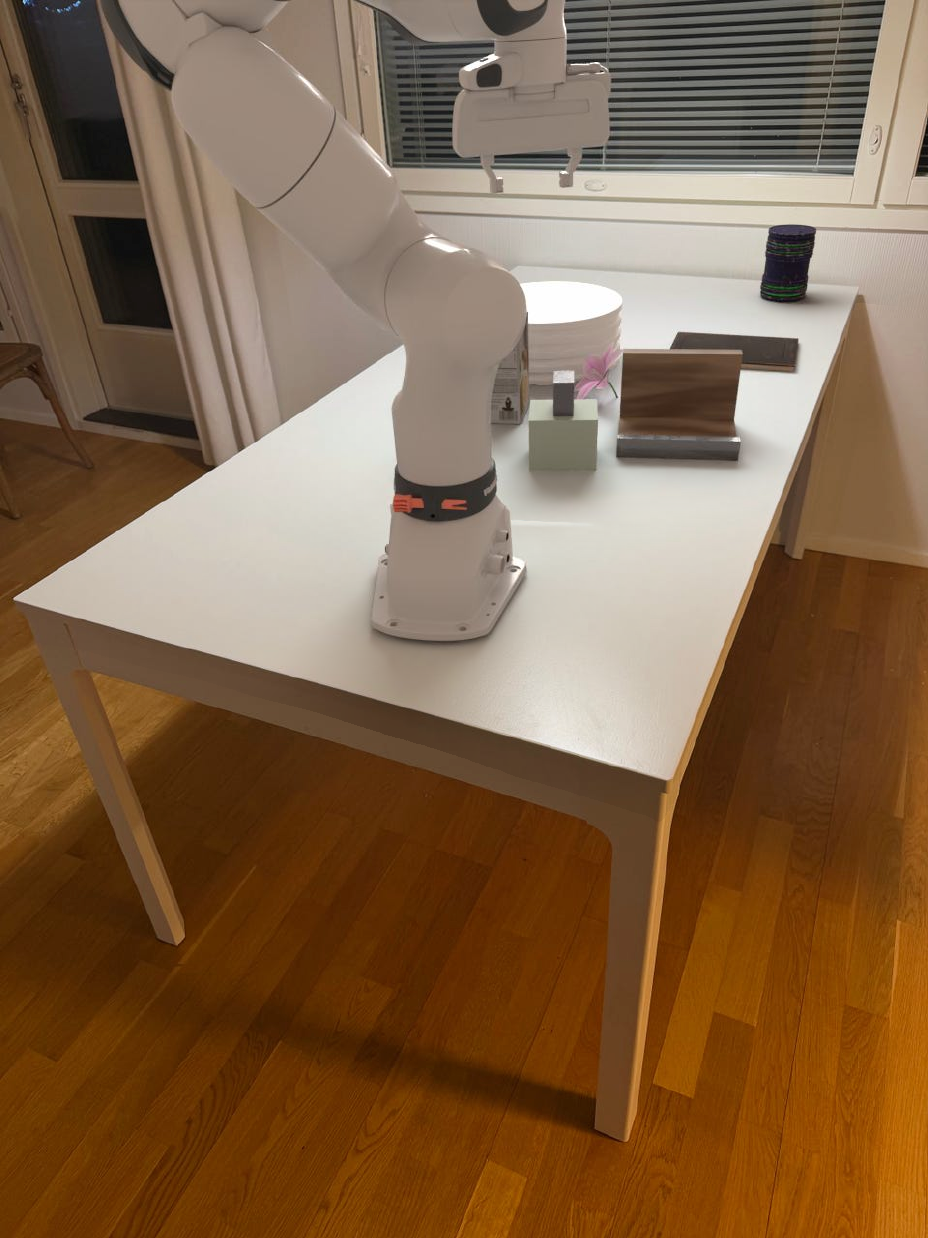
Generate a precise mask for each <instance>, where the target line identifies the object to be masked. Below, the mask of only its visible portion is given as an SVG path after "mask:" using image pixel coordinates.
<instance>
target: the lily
mask: <svg viewBox="0 0 928 1238" xmlns="http://www.w3.org/2000/svg"><path fill="white" fill-rule="evenodd" d="M613 345H614V341H613V342H612V343H611V344H610V345H609V346H608V347H607V349H606V350H605V351H604V353H603V354H602V356H601V357H600V356H598V355H595V354H589V355H587V356H586V357H585V359H584V362H583V373H584V375H585V377H584V378H583V379H581V381H578V383H577V384H576V385H575V386H574V393H575V392H577V391H578V393H577V395H576V399H585V397H586V395H587V394H589V392H590V391H591V390H592V389H593V388H594V389H598V390H606V389H607V386H608V385H609V386H610V388H611V389H612V392H613V394H614V396H615V397H616V398H617V399H618V398H619V397H618V394H617V392H616V390H615V388H614V386H613V385H612V384H611V382H610V381H609V371H608V370H609V367H610V365H611V364H612V363H613V362H614V361H615V360H616V359H617V358H618V357H619V358H620V356H621V354H623V349H620V350H616V351H613V352H611V351H612V348H613Z"/></svg>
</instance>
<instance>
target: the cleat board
mask: <svg viewBox="0 0 928 1238" xmlns="http://www.w3.org/2000/svg"><path fill="white" fill-rule="evenodd" d="M622 350H623V352H622V363H621V365H622V366H621V381H620V382H621V383H620V399H619V400H620V403H619V416H618V417H619V420H618V429H617V435H616V436H617V437H616V449H615V451H616V453H615V457H616V458H642V459H643V458H644V459H646V458H648V459H650V458H651V459H677V460H678V459H679V460H681V459H683V460H709V461H711V460H712V461H739V456H740V452H741V451H740V449H741V443H742V441H741V437H738V434H737V429H736V423H735V417H736V409H737V408H736V407H737V400H738V391H739V385H740V379H741V377H740V376H741V371H742V370H741V369H742V368H741V363H742V356H743V353H742V350H702V349H670V348H668V349H667V348H649V349H648V348H623V349H622Z"/></svg>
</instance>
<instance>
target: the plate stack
mask: <svg viewBox="0 0 928 1238" xmlns="http://www.w3.org/2000/svg"><path fill="white" fill-rule="evenodd" d="M520 285H521V287H522V289H523V291H524V294H525V298H526V305H527V312H528V353H529V384H540V385H541V386H546V385H547V386H548V385H549V386H551V384H552V386H553V375H554V371H574V383H577V382H578V383H579V382H580V381H581V379H583V378H584V377H585V375H584V373H583V362H584V359H585V357H586V356H587V355H589V354H595V355H598V356H600V357H601V356H602V354H603V353H604V351H605V350H606V349H607V347H608V346H609V345H610V344H611V343H612V342H613V341H614V345H613V348H612V351H611V352H613V351H616V350H621V333H622V326H621V324H622V309H623V298H622V296H621V295H620V294H619V293H618V292H617V291H615V290H612V289H610V288H608V287H604V286H601V285H597V284H592V283H586V282H585V283H583V282H577V281H537V282H526V283H520ZM619 362H620V356H619V357H618V358H617V359H616V360H615V361H614V362H613V363H612V364H611V365H610V367H609V370H608V372H610V371H611V370H613V369H614V368H615V367H616V366H618V364H619ZM544 384H546V385H544ZM540 385H539V386H540Z"/></svg>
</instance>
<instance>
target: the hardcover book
mask: <svg viewBox="0 0 928 1238" xmlns="http://www.w3.org/2000/svg"><path fill="white" fill-rule="evenodd" d="M799 340H800V339H799V338H797V337H781V336H778V337H777V336H765V335H764V336H763V335H748V334H747V335H746V334H744V335H743V334H730V333H729V334H727V333H713V332H712V333H710V332H709V333H708V332H707V333H706V332H693V331H692V332H691V331H690V332H689V331H677V333H676V335H675V337H674V339H673V341H672V343H671V345H670V347H669V349H702V350H742V353H743V356H742V363H741V369H750V370H751V369H752V370H753V369H754V370H769V371H780V372H781V371H783V372H793V371H794V368H795V367H796V366H795V365H796V359H797V352H798V345H799Z"/></svg>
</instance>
